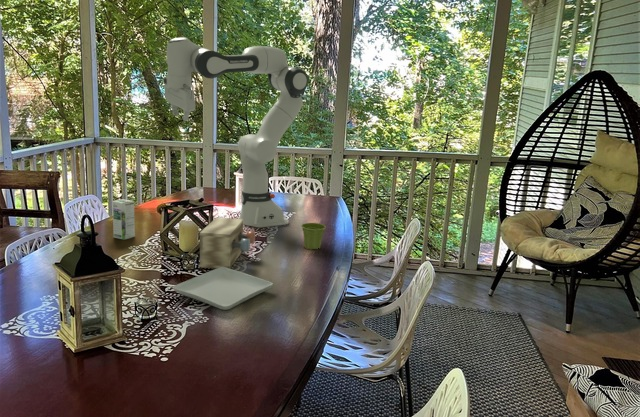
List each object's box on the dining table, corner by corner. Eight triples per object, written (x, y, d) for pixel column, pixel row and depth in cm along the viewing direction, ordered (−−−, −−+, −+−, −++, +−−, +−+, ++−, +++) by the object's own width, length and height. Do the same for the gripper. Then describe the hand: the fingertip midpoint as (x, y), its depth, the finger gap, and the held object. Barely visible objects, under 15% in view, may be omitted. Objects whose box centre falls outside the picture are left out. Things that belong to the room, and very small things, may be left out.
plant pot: (327, 246, 192) (329, 224, 190) (319, 252, 184) (321, 230, 182) (305, 242, 195) (306, 221, 193) (296, 249, 187) (297, 227, 185)
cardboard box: (199, 267, 162) (199, 232, 159) (216, 248, 182) (216, 217, 179) (229, 269, 162) (229, 234, 159) (242, 250, 181) (243, 219, 178)
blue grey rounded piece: (227, 252, 164) (227, 239, 163) (230, 248, 168) (231, 235, 167) (247, 253, 164) (247, 241, 163) (250, 249, 168) (250, 237, 167)
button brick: (234, 244, 173) (234, 232, 172) (236, 240, 177) (237, 228, 176) (252, 245, 172) (253, 233, 171) (255, 241, 177) (255, 230, 176)
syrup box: (113, 237, 187) (111, 201, 184) (125, 234, 193) (123, 198, 189) (123, 240, 185) (122, 203, 182) (135, 236, 190) (134, 200, 187)
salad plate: (226, 318, 129) (226, 306, 128) (170, 296, 139) (170, 285, 139) (274, 292, 146) (275, 282, 145) (222, 275, 157) (222, 265, 156)
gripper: (199, 86, 182) (199, 123, 187) (176, 77, 196) (177, 111, 201) (183, 87, 178) (184, 124, 183) (161, 77, 192) (162, 112, 198)
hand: (180, 117), depth 192 cm, fingers open, 8 cm apart
